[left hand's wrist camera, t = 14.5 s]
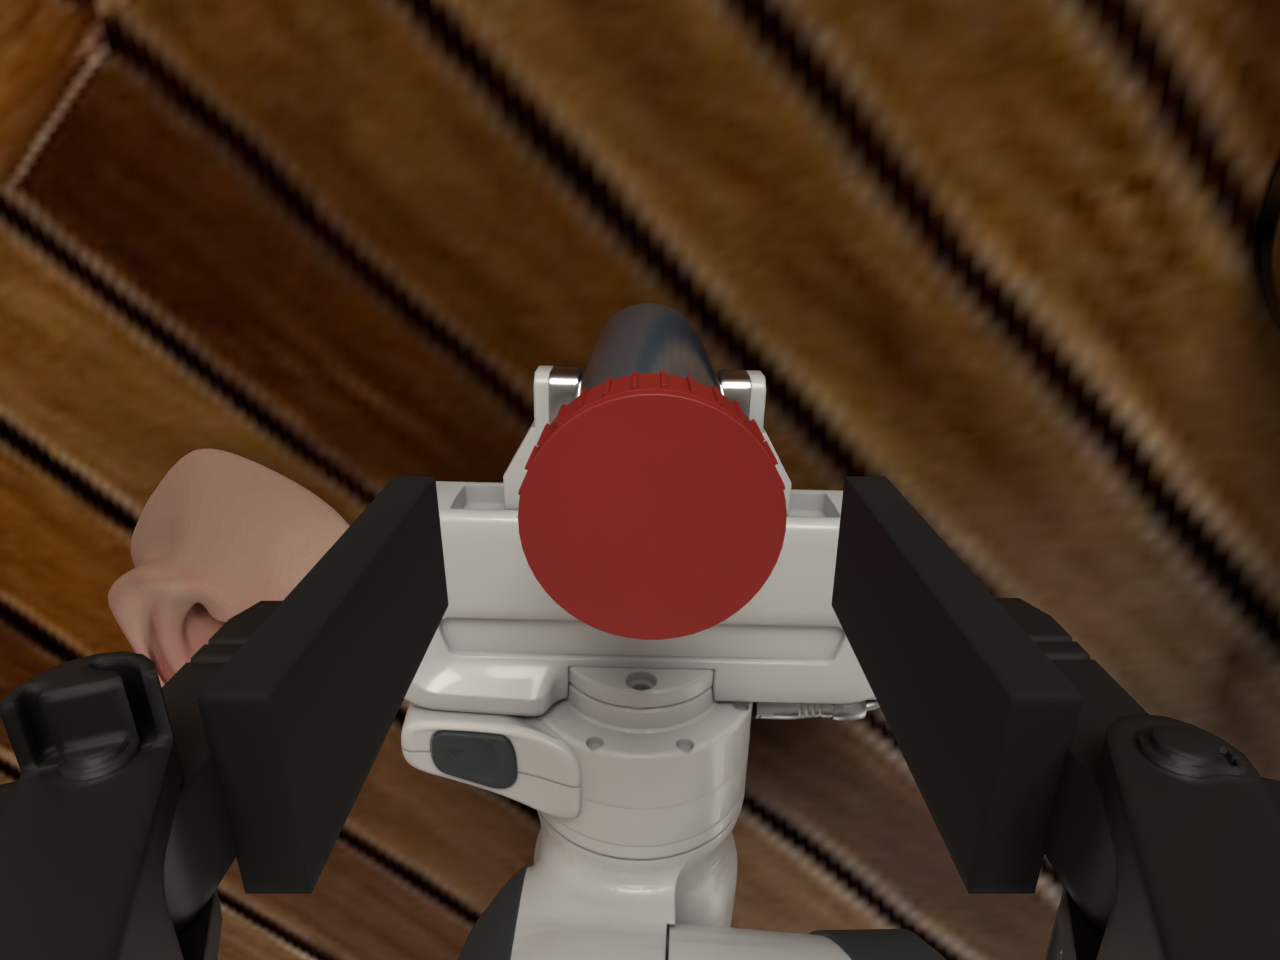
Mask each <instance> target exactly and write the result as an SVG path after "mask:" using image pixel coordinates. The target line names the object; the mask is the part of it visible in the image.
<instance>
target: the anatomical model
mask: <svg viewBox="0 0 1280 960" xmlns="http://www.w3.org/2000/svg"><path fill="white" fill-rule="evenodd" d="M349 527H350V526H349V524H348V523H347V522H346V521H345V520H344V518H343V517H342V516H341V515H340V514H338V513H337V512H336V511H335V510H334V509H333V508H332V507H331V506H329V505H328V504H327V503H326V502H324V501H323V500H322V499H320V498H319V497H318V496H317V495H315V494H313V493H312V492H310V491H309V490H307V489H306V488H304V487H303V486H301V485H299V484H298V483H296V482H294V481H292V480H290V479H289V478H287V477H285V476H283V475H281V474H279V473H277V472H276V471H273V470H271V469H269V468H267V467H265V466H263V465H261V464H258V463H256V462H254V461H252V460H249V459H247V458H244V457H241V456H239V455H236V454H233V453H230V452H227V451H223V450H217V449H198V450H195V451H192V452H190V453H188V454H187V455H185V456H184V457H183V458H181V459H180V460H179V461H178V462H177V463H176V464H175V465H174V466H173V467H172V468H171V469H170V470H169V471H168V473H167V474H166V476H165V477H164V478H163V480H162V481H161V483H160V484H159V485H158V487H157V488H156V490H155V491H154V492H153V494H152V495H151V497H150V498H149V500H148V501H147V503H146V505H145V507H144V509H143V511H142V513H141V515H140V518H139V520H138V523H137V525H136V527H135V530H134V533H133V536H132V540H131V556H132V560H133V563H134V566H135V568H134V569H132V570H130V571H129V572H127V573H125V574H124V575H122V576H121V577H120V578H119V579H117V580H116V582H115V583H114V584H113V585H112V587H111V589H110V591H109V594H108V602H109V606H110V609H111V611H112V613H113V615H114V617H115V619H116V621H117V622H118V624H119V626H120V627H121V629H122V631H123V632H124V634H125V636H126V637H127V639H128V641H129V643H130V644H131V646H132V648H133V649H134V651H135V653H138V654H143V655H145V656H146V657H148V658H149V659H151V660H152V661H154V662H155V665H156V669H157V673H158V676H159V680H160V684H161V687H163V686H164V685H165V684H166V683H167V682H168V681H169V680H170V679H171V678H172V677H173V676H174V675H175V674H176V673H177V671H178V670H179V669H180V668H181V667H182V666H183V665H184V664H185V663H190V662H191V657H192V656H193V655H194V654H195V653H196V652H197V651H198V650H199V649H200V648H201V647H202V646H203V645H204V644H208V643H209V639H210V638H211V637H212V636H213V635H214V634H215V633H216V632H217V631H218V630H219V629H220V628H221V627H222V626H223V625H224V624H225V623H226V622H227V621H228V620H229V619H230V618H232V617H234V616H235V615H237V614H239V613H241V612H242V611H244V610H246V609H248V608H249V607H251V606H253V605H255V604H256V603H258V602H260V601H283V600H284V599H285V598H286V597H287V596H288V595H289V593H290V592H291V591H292V590H293V589H294V588H295V587H296V586H297V585H298V583H299V582H300V581H301V580H302V579H303V578H304V577H305V576H306V575H307V573H308V572H309V571H310V570H311V569H312V568H313V567H314V566H315V565H316V563H317V562H318V561H319V560H320V559H321V558H322V557H323V556H324V555H325V553H326V552H327V551H328V550H329V549H330V548H331V547H332V546H333V545H334V543H335V542H336V541H337V540H338V539H339V538H340V537H341V536H342V535H343V533H344V532H345V531H346V530H347V529H348V528H349Z"/></svg>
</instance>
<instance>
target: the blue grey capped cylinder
mask: <svg viewBox="0 0 1280 960" xmlns="http://www.w3.org/2000/svg"><path fill="white" fill-rule="evenodd" d="M661 370H664V371H665V372H666V374H668V375H676V376H680V377H684V378H687V375H690V376H692V377H693V380H694V381H697V382H699V383H702V384H704V385H707V386H709V387H710V388H711V387H712V386H713V385H714V386H716V387H717V388H718V391H719V393H721V394H723V395H724V396H725V393H724V391H723V389H722V386H721V384H720V382H719V379H718V377H717V374H716V372H715V370H714V367H713V365H712V363H711V360H710V358H709V356H708V353H707V351H706V348H705V346H704V344H703V341H702V339H701V337H700V335H699V333H698V331H697V329H696V328H695V326H694V325H693V324H692V323H691V322H690V321H689V320H688V318H687V317H685V316H684V315H683V314H681V313H680V312H678V311H676V310H675V309H673V308H670V307H668V306H665V305H661V304H654V303H643V304H636V305H633V306H629V307H627V308H625V309H622V310H621V311H619V312H617V313H616V314H614V315H613V316H612V317H611V318H610V319H609V320H608V321H607V322H606V323H605V324H604V325H603V327H602V328H601V329H600V331H599V333H598V335H597V337H596V339H595V342H594V345H593V347H592V350H591V353H590V356H589V358H588V361H587V364H586V366H585V369H584V372H583V375H582V377H581V380H580V383H579V385H578V388H577V391H576V394H575V396H574V399H573V400H575V399H576V398H577V397H578V396H580V394H581V391H582V390H583V389H584V388H586V389H587V390H590V389H591V388H593V387H595V386H597V385H600V384H602V383H604V382H605V381H606V378H608V377H611V378H612V379H616V378H620V377H623V376H628V375H633V371H638V374H646V373H660V371H661ZM725 397H726V396H725Z"/></svg>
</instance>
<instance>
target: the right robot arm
mask: <svg viewBox="0 0 1280 960" xmlns="http://www.w3.org/2000/svg"><path fill="white" fill-rule="evenodd" d="M581 377H582V368H581V367H564V366H539V367H538V368H537V370H536V371H535V376H534V422H533V423H532V425H531V427H530V429H529V430H528V432H527V434H526V436H525V438H524V439H523V441H522V443H521V445H520V446H519V448H518V450H517V452H516V453H515V455H514V457H513V459H512V461H511V463H510V464H509V466H508V468H507V470H506V472H505V474H504V476H503V482H504V483H488V482H445V481H436V488H437V498H438V507H439V517H440V527H441V536H442V546H443V556H444V565H445V575H446V585H447V594H448V604H449V605H448V607H447V610H446V612H445V614H444V616H443V618H442V620H441V622H440V624H439V626H438V628H437V630H436V633H435V635H434V637H433V639H432V641H431V643H430V645H429V647H428V649H427V651H426V654H425V656H424V658H423V660H422V662H421V664H420V666H419V668H418V670H417V672H416V675H415V677H414V679H413V681H412V683H411V685H410V687H409V689H408V691H407V693H406V695H405V698H404V699H405V700H406V701H408V702H410V704H409V707H408V710H407V713H406V717H405V720H404V724H403V728H402V733H401V747H402V752H403V755H404V757H405V759H406V761H407V762H408V763H409V764H410V765H411V766H413V767H415V768H417V769H419V770H421V771H424V772H427V773H430V774H434V775H437V776H441V777H445V778H448V779H452V780H455V781H459V782H462V783H466V784H469V785H473V786H476V787H479V788H482V789H485V790H488V791H491V792H494V793H497V794H500V795H503V796H505V797H508V798H510V799H513V800H515V801H518V802H521V803H523V804H525V805H527V806H529V807H532V808H534V809H536V810H537V812H538V815H539V818H540V823H541V828H540V831H539V834H538V837H537V841H536V846H535V854H534V865H533V866H531V867H528V866H527V865H526V866H525V867H523V868H522V869H521V870H520V871H518V872H517V873H516V874H515V875H514V876H513V877H512V878H511V879H510V880H509V881H508V882H507V884H506V885H505V886H504V887H503V888H502V890H501V891H500V892H499V893H498V895H497V896H496V897H495V898H494V900H493V901H492V902H491V903H490V905H489V906H488V907H487V909H486V910H485V911H484V912H483V914H482V915H481V916H480V917H479V919H478V920H477V922H476V923H475V925H474V927H473V929H472V931H471V933H470V934H469V936H468V938H467V940H466V943H465V945H464V947H463V949H462V952H461V954H460V957H459V959H458V960H946V959H945V958H944V957H943V956H941V955H940V954H939V953H938V952H937V951H936V950H935V949H933V948H932V947H931V946H930V945H928V944H927V943H926V942H925V941H923V940H922V939H921V938H920V937H919V936H917V935H916V934H915V933H913V932H911V931H909V930H906V929H870V930H817V931H812V932H811V933H810V934H801V933H789V932H778V931H766V930H755V929H743V928H731V927H730V926H731V920H732V913H733V906H734V899H735V891H736V881H737V852H736V846H735V841H734V837H733V834H732V830H733V828H734V826H735V824H736V822H737V820H738V817H739V815H740V812H741V808H742V804H743V799H744V794H745V783H746V771H747V760H748V749H749V740H750V723H751V721H753V719H783V720H792V719H804V718H812V717H813V718H819V717H820V718H830V719H831V720H836V721H852V720H859V719H863V718H864V717H865V716H866V711H870V710H875V709H877V708H880V706H879V704H878V702H877V700H876V698H875V695H874V693H873V691H872V689H871V687H870V685H869V683H868V681H867V679H866V677H865V675H864V672H863V670H862V668H861V666H860V664H859V662H858V660H857V658H856V656H855V654H854V651H853V649H852V647H851V645H850V643H849V641H848V639H847V637H846V635H845V633H844V630H843V628H842V626H841V624H840V622H839V620H838V618H837V616H836V614H835V612H834V610H833V607H832V605H831V604H832V594H833V585H834V575H835V565H836V556H837V546H838V536H839V527H840V517H841V507H842V498H843V491H834V490H791V481H790V479H789V477H788V475H787V473H786V471H785V469H784V467H783V465H782V463H781V461H780V459H779V457H778V455H777V453H776V451H775V449H774V447H773V445H772V443H771V441H770V439H769V437H768V435H767V433H766V432H765V430H764V428H763V423H764V410H765V398H766V380H765V377H764V375H763V374H762V372H761V371H746V370H718V373H717V377H718V379H719V382H720V384H721V386H722V389H723V391H724V393H725V396H726V398H728V399H729V400H730V401H732V402H734V401H735V400H736V401H737V402H739V404H740V407H741V409H742V411H743V413H744V414H745V415H746V416H747V417H748V419H749V420H750V421H751V420H752V419H754V420H755V421H756V423H757V425H758V427H759V429H760V431H761V433H762V435H763V437H764V439H765V441H767V442H768V444H769V446H770V448H771V450H772V452H773V454H774V456H775V458H776V460H777V462H778V464H777V465H775V466H776V469H777V471H778V473H779V475H780V477H781V479H782V481H783V483H784V485H785V490H784V494H785V499H786V511H787V520H786V532H785V537H784V542H783V547H782V550H781V553H780V555H779V558H778V561H777V563H776V565H775V567H774V569H773V571H772V573H771V575H770V577H769V578H768V579H767V581H766V582H765V584H764V585H763V587H762V588H761V589H760V591H759V592H758V593H757V594H756V595H755V596H754V597H753V598H752V599H751V600H750V601H749V602H748V603H747V604H746V605H745V606H744V607H743V608H741V609H740V610H739V611H738V612H737V613H735V614H734V615H732V616H730V617H729V618H727V619H726V620H724V621H723V622H721V623H719V624H717V625H715V626H713V627H711V628H709V629H706V630H703V631H700V632H698V633H695V634H691V635H687V636H683V637H679V638H672V639H663V640H641V639H632V638H625V637H621V636H617V635H612V634H609V633H606V632H604V631H601V630H598V629H595V628H593V627H591V626H589V625H587V624H585V623H583V622H581V621H580V620H578V619H577V618H575V617H574V616H572V615H570V614H569V613H568V612H566V611H565V610H564V609H563V608H562V607H560V606H559V605H558V604H557V603H556V602H555V601H554V600H553V599H552V598H551V597H550V596H549V595H548V594H547V593H546V592H545V590H544V589H543V588H542V586H541V585H540V583H539V582H538V581H537V579H536V578H535V576H534V574H533V572H532V570H531V568H530V567H529V565H528V562H527V560H526V557H525V554H524V552H523V549H522V544H521V540H520V535H519V526H518V507H519V498H520V495H518V492H519V489H520V486H521V484H522V482H523V480H524V477H525V475H526V473H527V471H528V470H526V469H524V468H525V466H526V463H527V461H528V459H529V457H530V455H531V452H532V450H533V448H534V446H538V445H537V442H538V440H539V438H540V436H541V433H542V431H543V429H544V427H545V425H546V424H547V423H548V424H549V425H551V423H552V422H553V421H554V419H555V418H556V416H557V415H558V413H559V410H560V408H561V406H562V405H563V404H565V405H566V406H567V405H568V404H569V403H571V402H572V401H573V399H574V396H575V394H576V391H577V388H578V385H579V383H580V380H581ZM763 442H764V441H763ZM868 699H869V700H868Z"/></svg>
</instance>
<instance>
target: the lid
mask: <svg viewBox="0 0 1280 960" xmlns="http://www.w3.org/2000/svg"><path fill="white" fill-rule="evenodd" d="M763 441H764V442H763ZM537 445H538V446H534V448H533V450H532V452H531V455H530V457H529V459H528V461H527V463H526V466H525V468H524V469H526V470H528V471H527V473H526V475H525V477H524V480H523V482H522V484H521V486H520V489H519V492H518V495H520V498H519V507H518V526H519V535H520V540H521V544H522V549H523V552H524V554H525V557H526V560H527V562H528V565H529V567H530V568H531V570H532V572H533V574H534V576H535V578H536V579H537V581H538V582H539V583H540V585H541V586H542V588H543V589H544V590H545V592H546V593H547V594H548V595H549V596H550V597H551V598H552V599H553V600H554V601H555V602H556V603H557V604H558V605H559V606H560V607H562V608H563V609H564V610H565V611H566V612H568V613H569V614H570V615H572V616H574V617H575V618H577V619H578V620H580V621H581V622H583V623H585V624H587V625H589V626H591V627H593V628H595V629H598V630H601V631H604V632H606V633H609V634H612V635H617V636H621V637H625V638H632V639H641V640H663V639H672V638H679V637H683V636H687V635H691V634H695V633H698V632H700V631H703V630H706V629H709V628H711V627H713V626H715V625H717V624H719V623H721V622H723V621H724V620H726V619H727V618H729V617H730V616H732V615H734V614H735V613H737V612H738V611H739V610H740V609H741V608H743V607H744V606H745V605H746V604H747V603H748V602H749V601H750V600H751V599H752V598H753V597H754V596H755V595H756V594H757V593H758V592H759V591H760V589H761V588H762V587H763V585H764V584H765V582H766V581H767V579H768V578H769V577H770V575H771V573H772V571H773V569H774V567H775V565H776V563H777V561H778V558H779V555H780V553H781V550H782V547H783V542H784V537H785V532H786V520H787V511H786V499H785V494H784V490H785V485H784V483H783V481H782V479H781V477H780V475H779V473H778V471H777V469H776V466H775V465H777V464H778V462H777V460H776V458H775V456H774V454H773V452H772V450H771V448H770V446H769V444H768V442H767V441H765V439H764V437H763V435H762V433H761V431H760V429H759V427H758V425H757V423H756V421H755V420H754V419H752V420H751V421H750V420H749V419H748V417H747V416H746V415H745V414H744V413H743V411H742V409H741V407H740V404H739V402H737V401H736V400H735V401H734V402H732V401H730V400H729V399H728V398H726V397H725V396H724V395H723V394H721V393H719V391H718V388H717V387H716V386H714V385H713V386H712V387H711V388H710V387H709V386H707V385H704V384H702V383H699V382H697V381H694V380H693V377H692V376H690V375H687V378H684V377H680V376H676V375H668V374H666V372H665V371H664V370H661V371H660V373H646V374H638V371H633V375H628V376H623V377H620V378H616V379H612V378H611V377H608V378H606V381H605V382H604V383H602V384H600V385H597V386H595V387H593V388H591V389H590V390H587V389H586V388H584V389H583V390H582V391H581V394H580V396H578V397H577V398H576V399H575V400H573V401H572V402H571V403H569V404H568V405H567V406H566V405H565V404H563V405H562V406H561V408H560V410H559V413H558V415H557V416H556V418H555V419H554V421H553V422H552V423H551V425H549V424H548V423H547V424H546V425H545V427H544V429H543V431H542V433H541V436H540V438H539V440H538V442H537Z"/></svg>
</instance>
